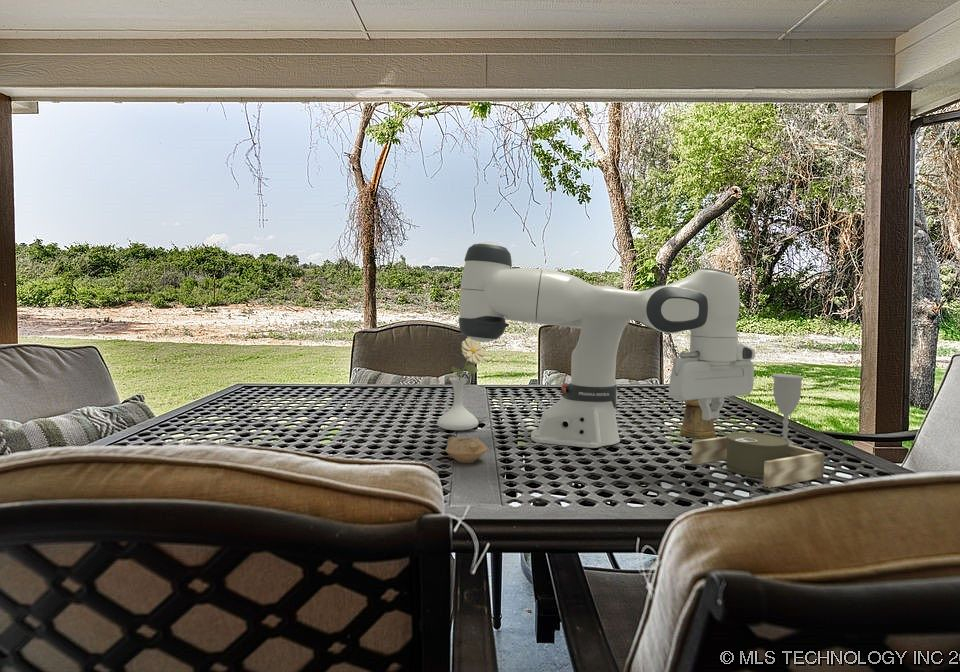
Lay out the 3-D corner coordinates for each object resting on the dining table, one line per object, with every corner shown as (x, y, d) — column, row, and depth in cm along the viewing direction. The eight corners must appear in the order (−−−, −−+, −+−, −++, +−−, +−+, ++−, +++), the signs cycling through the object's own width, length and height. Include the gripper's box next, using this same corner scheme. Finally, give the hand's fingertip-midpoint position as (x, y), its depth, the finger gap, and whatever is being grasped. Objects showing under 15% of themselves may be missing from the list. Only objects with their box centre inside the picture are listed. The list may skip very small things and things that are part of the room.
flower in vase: (445, 435, 156) (446, 339, 155) (431, 426, 167) (431, 336, 165) (491, 431, 161) (492, 338, 160) (474, 423, 172) (475, 335, 170)
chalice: (804, 454, 142) (808, 378, 140) (773, 452, 143) (776, 377, 142) (794, 447, 149) (798, 374, 148) (765, 445, 150) (768, 373, 149)
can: (800, 475, 125) (802, 442, 124) (756, 481, 120) (757, 447, 120) (755, 460, 136) (756, 430, 135) (712, 465, 131) (714, 434, 131)
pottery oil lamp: (466, 448, 141) (480, 424, 139) (480, 479, 131) (495, 453, 129) (433, 438, 138) (447, 413, 136) (444, 469, 127) (459, 442, 125)
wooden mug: (736, 436, 160) (739, 368, 159) (697, 440, 154) (699, 370, 153) (711, 429, 168) (713, 365, 167) (672, 433, 163) (675, 366, 161)
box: (767, 488, 115) (769, 462, 115) (691, 463, 132) (692, 441, 132) (823, 477, 123) (824, 453, 123) (744, 455, 140) (745, 433, 140)
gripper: (687, 353, 112) (684, 427, 113) (761, 350, 122) (757, 418, 123) (662, 350, 118) (660, 420, 119) (734, 348, 127) (731, 412, 128)
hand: (710, 419), depth 121 cm, fingers closed
